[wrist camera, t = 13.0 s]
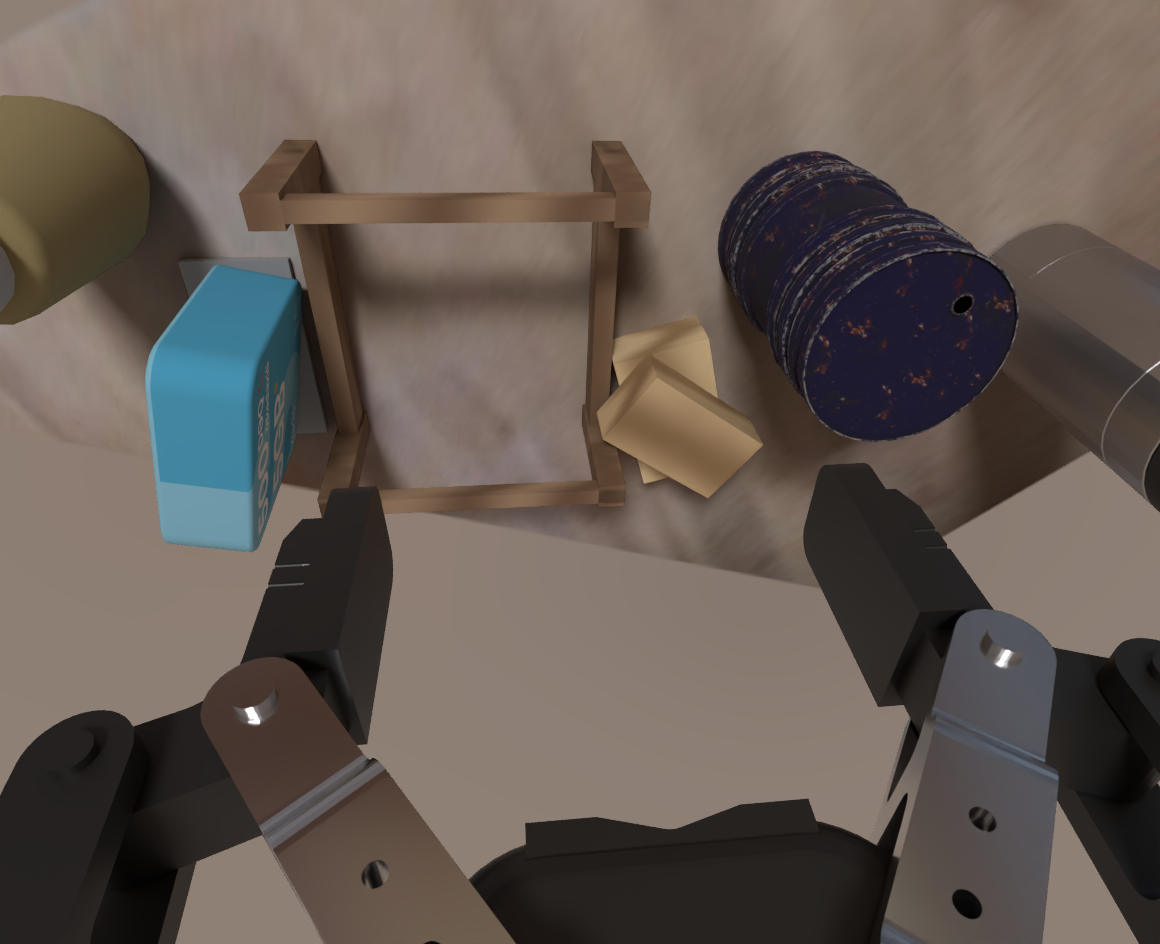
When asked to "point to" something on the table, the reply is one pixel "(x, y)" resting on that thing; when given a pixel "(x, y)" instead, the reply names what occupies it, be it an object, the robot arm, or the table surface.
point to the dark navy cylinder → (865, 297)
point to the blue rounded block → (225, 407)
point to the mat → (309, 394)
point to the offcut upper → (677, 427)
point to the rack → (296, 198)
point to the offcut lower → (667, 360)
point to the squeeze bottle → (63, 201)
